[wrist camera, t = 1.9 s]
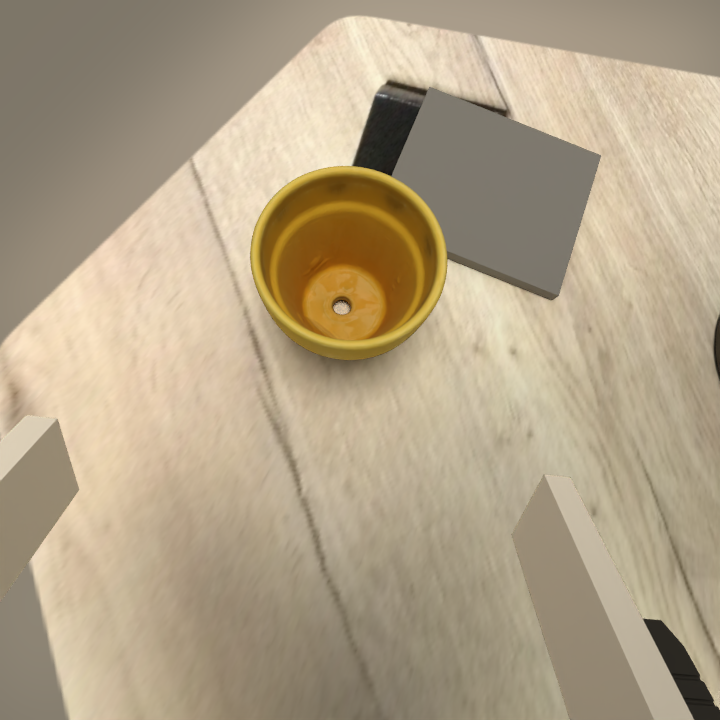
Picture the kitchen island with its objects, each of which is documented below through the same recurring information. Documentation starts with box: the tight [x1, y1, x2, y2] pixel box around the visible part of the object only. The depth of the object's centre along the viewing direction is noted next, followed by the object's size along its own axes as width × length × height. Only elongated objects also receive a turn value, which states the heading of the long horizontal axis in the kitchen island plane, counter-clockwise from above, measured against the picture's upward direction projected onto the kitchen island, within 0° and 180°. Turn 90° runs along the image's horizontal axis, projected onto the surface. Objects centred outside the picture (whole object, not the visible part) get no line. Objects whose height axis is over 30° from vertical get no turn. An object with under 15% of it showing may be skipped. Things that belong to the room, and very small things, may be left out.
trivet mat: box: [391, 87, 601, 300], centre depth 34 cm, size 15×13×1 cm
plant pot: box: [250, 166, 447, 360], centre depth 27 cm, size 10×10×10 cm
